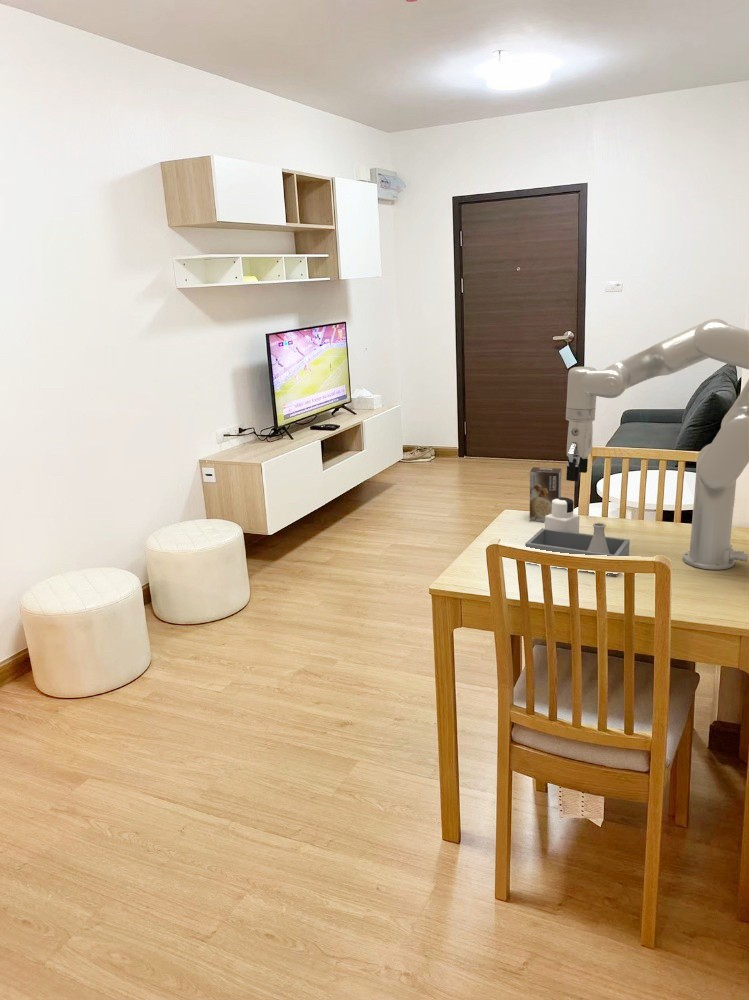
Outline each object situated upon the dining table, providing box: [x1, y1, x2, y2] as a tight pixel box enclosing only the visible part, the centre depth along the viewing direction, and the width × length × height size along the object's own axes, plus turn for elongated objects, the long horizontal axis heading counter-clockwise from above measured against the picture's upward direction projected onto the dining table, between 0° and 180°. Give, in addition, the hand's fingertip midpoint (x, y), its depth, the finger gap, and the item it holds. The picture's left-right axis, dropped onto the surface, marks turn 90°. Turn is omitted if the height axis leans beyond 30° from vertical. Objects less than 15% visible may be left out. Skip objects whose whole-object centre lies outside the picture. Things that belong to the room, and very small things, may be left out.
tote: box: [524, 527, 631, 578], centre depth 208 cm, size 24×14×6 cm, turn 60°
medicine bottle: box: [544, 496, 581, 533], centre depth 225 cm, size 7×7×12 cm
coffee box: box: [529, 466, 562, 523], centre depth 242 cm, size 9×6×16 cm
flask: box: [587, 522, 610, 554], centre depth 205 cm, size 7×7×10 cm
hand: (576, 476), depth 212 cm, fingers open, 9 cm apart
